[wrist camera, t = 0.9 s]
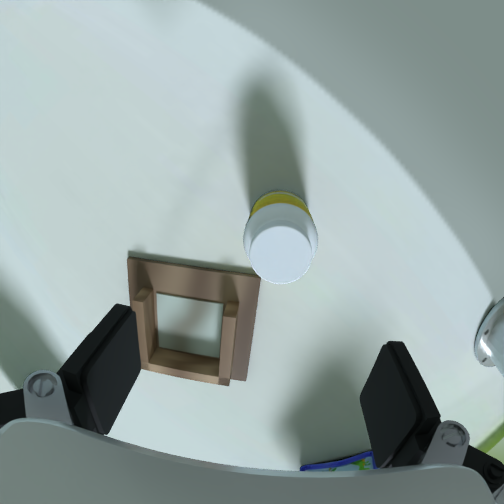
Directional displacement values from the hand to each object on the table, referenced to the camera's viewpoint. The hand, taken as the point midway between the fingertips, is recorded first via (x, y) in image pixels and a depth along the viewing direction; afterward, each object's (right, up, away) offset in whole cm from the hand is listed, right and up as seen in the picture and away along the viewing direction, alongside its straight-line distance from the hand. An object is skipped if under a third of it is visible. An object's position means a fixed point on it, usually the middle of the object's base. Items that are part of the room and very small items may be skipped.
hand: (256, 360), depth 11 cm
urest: (-7, -4, +22) cm, 24 cm away
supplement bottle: (+2, +7, +18) cm, 19 cm away
